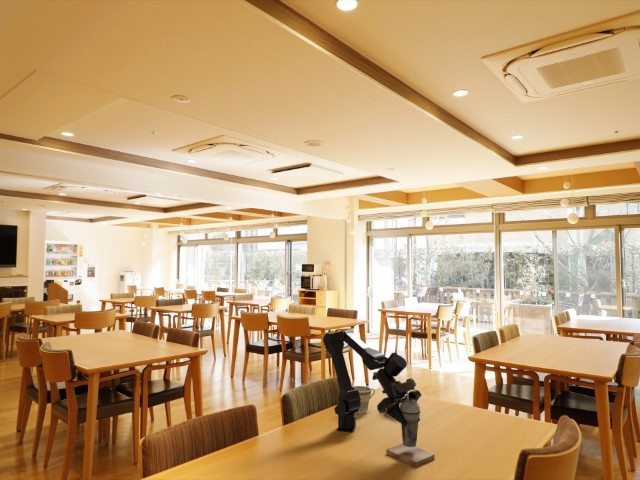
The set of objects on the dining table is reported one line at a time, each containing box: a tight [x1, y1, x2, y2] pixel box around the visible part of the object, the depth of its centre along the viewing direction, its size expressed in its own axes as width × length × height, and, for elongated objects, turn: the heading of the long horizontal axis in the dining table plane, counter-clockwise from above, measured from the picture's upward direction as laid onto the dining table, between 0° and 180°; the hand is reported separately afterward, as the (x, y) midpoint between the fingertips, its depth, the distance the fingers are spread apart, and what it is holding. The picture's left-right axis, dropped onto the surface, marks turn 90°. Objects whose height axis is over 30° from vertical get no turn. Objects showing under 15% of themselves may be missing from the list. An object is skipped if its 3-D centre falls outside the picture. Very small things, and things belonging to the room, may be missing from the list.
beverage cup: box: [400, 391, 421, 447], centre depth 150 cm, size 7×7×20 cm
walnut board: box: [385, 442, 436, 468], centre depth 149 cm, size 13×10×2 cm
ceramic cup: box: [352, 385, 376, 415], centre depth 197 cm, size 13×10×10 cm
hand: (412, 423), depth 149 cm, fingers closed on beverage cup, 7 cm apart
